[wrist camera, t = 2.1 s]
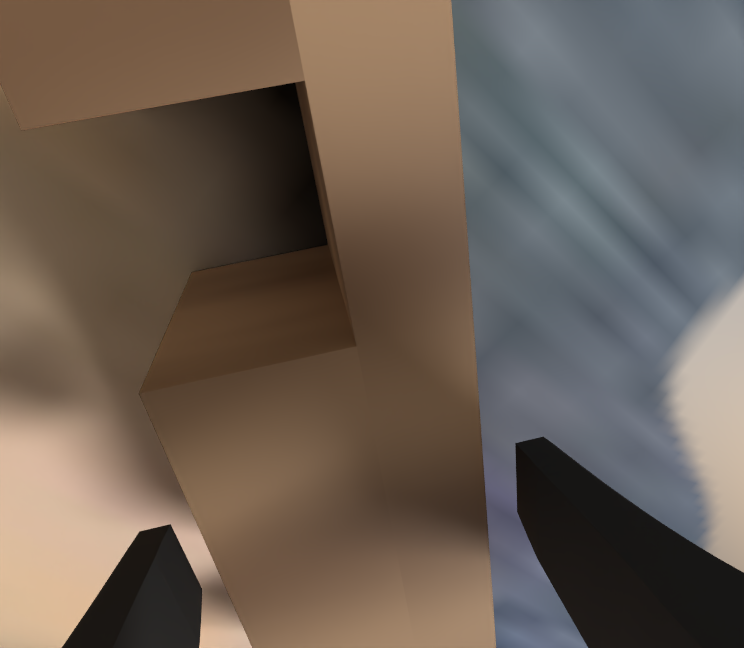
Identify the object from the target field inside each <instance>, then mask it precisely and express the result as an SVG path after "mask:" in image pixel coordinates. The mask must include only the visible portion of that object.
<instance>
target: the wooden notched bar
mask: <svg viewBox="0 0 744 648" xmlns="http://www.w3.org/2000/svg"><path fill="white" fill-rule="evenodd" d="M294 82H295V84H296V89H297V94H298V99H299V104H300V109H301V114H302V119H303V124H304V129H305V133H306V138H307V143H308V148H309V153H310V158H311V163H312V168H313V173H314V178H315V183H316V188H317V193H318V197H319V202H320V207H321V212H322V217H323V222H324V227H325V232H326V237H327V242H328V245H325V246H320V247H315V248H310V249H305V250H300V251H295V252H290V253H285V254H280V255H275V256H270V257H265V258H260V259H255V260H250V261H245V262H240V263H235V264H230V265H225V266H220V267H215V268H211V269H206V270H201V271H196V272H192V273H191V275H190V277H189V280H188V282H187V284H186V286H185V289H184V291H183V293H182V296H181V298H180V300H179V303H178V305H177V307H176V309H175V312H174V314H173V316H172V319H171V321H170V323H169V326H168V328H167V330H166V332H165V335H164V337H163V339H162V342H161V344H160V346H159V349H158V351H157V353H156V355H155V358H154V360H153V362H152V365H151V367H150V369H149V371H148V374H147V376H146V378H145V381H144V383H143V385H142V388H141V390H140V392H139V395H140V397H141V399H142V402H143V404H144V406H145V408H146V411H147V413H148V415H149V417H150V420H151V422H152V424H153V426H154V429H155V431H156V433H157V435H158V438H159V440H160V442H161V444H162V446H163V449H164V451H165V453H166V455H167V458H168V460H169V462H170V464H171V467H172V469H173V471H174V473H175V476H176V478H177V480H178V482H179V485H180V487H181V489H182V491H183V493H184V496H185V498H186V500H187V502H188V505H189V507H190V509H191V511H192V514H193V516H194V518H195V520H196V523H197V525H198V527H199V529H200V531H201V534H202V536H203V538H204V540H205V543H206V545H207V547H208V549H209V552H210V554H211V556H212V558H213V561H214V563H215V565H216V567H217V570H218V572H219V574H220V576H221V578H222V581H223V583H224V585H225V587H226V590H227V592H228V594H229V596H230V599H231V601H232V603H233V605H234V608H235V610H236V612H237V614H238V617H239V619H240V621H241V623H242V625H243V628H244V630H245V632H246V634H247V637H248V639H249V641H250V643H251V646H252V648H496V640H495V625H494V611H493V596H492V582H491V568H490V553H489V539H488V524H487V510H486V496H485V481H484V467H483V453H482V438H481V424H480V409H479V395H478V381H477V366H476V352H475V338H474V323H473V309H472V294H471V280H470V266H469V251H468V237H467V222H466V208H465V194H464V179H463V165H462V151H461V136H460V122H459V107H458V93H457V79H456V64H455V50H454V35H453V21H452V7H451V0H0V84H1V86H2V89H3V91H4V93H5V95H6V97H7V100H8V102H9V104H10V106H11V109H12V111H13V113H14V115H15V118H16V120H17V122H18V124H19V127H20V129H21V131H22V130H28V129H34V128H39V127H45V126H51V125H56V124H62V123H68V122H73V121H79V120H85V119H90V118H96V117H102V116H107V115H113V114H119V113H124V112H130V111H136V110H141V109H147V108H153V107H158V106H164V105H170V104H175V103H181V102H187V101H192V100H198V99H204V98H209V97H215V96H221V95H226V94H232V93H238V92H243V91H249V90H255V89H260V88H266V87H272V86H277V85H283V84H289V83H294Z"/></svg>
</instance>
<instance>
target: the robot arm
mask: <svg viewBox="0 0 744 648" xmlns="http://www.w3.org/2000/svg"><path fill="white" fill-rule="evenodd" d="M516 478H517V512H518V515H519V517H520V519H521V522H522V524H523V526H524V529H525V531H526V534H527V536H528V538H529V540H530V543H531V545H532V547H533V549H534V552H535V554H536V556H537V558H538V560H539V562H540V564H541V566H542V567H543V569H544V571H545V573H546V575H547V576H548V578H549V580H550V582H551V583H552V585H553V587H554V589H555V590H556V592H557V594H558V596H559V597H560V599H561V601H562V603H563V604H564V606H565V608H566V610H567V611H568V613H569V615H570V617H571V618H572V620H573V622H574V624H575V625H576V627H577V629H578V630H579V632H580V634H581V636H582V637H583V639H584V641H585V643H586V644H587V646H588V648H744V573H743V572H741V571H739V570H738V569H736V568H734V567H732V566H731V565H729V564H727V563H725V562H724V561H722V560H720V559H718V558H717V557H715V556H713V555H712V554H710V553H708V552H707V551H705V550H703V549H702V548H700V547H698V546H697V545H695V544H693V543H692V542H690V541H689V540H687V539H686V538H684V537H682V536H681V535H679V534H678V533H676V532H675V531H673V530H672V529H670V528H668V527H667V526H665V525H664V524H662V523H661V522H659V521H658V520H656V519H655V518H653V517H652V516H650V515H649V514H647V513H646V512H644V511H643V510H642V509H640V508H639V507H637V506H636V505H635V504H633V503H632V502H630V501H629V500H627V499H626V498H625V497H623V496H622V495H620V494H619V493H618V492H616V491H615V490H613V489H612V488H611V487H609V486H608V485H606V484H605V483H604V482H602V481H601V480H600V479H598V478H597V477H596V476H594V475H593V474H592V473H590V472H589V471H588V470H586V469H585V468H584V467H582V466H581V465H580V464H579V463H577V462H576V461H575V460H573V459H572V458H571V457H569V456H568V455H567V454H566V453H564V452H563V451H562V450H560V449H559V448H558V447H557V446H555V445H554V444H553V443H551V442H550V441H549V440H547V439H546V438H544V437H540V438H536V439H532V440H527V441H523V442H519V443H516ZM201 605H202V588H201V586H200V584H199V582H198V580H197V578H196V576H195V574H194V572H193V570H192V568H191V566H190V564H189V561H188V559H187V557H186V555H185V553H184V551H183V549H182V547H181V545H180V543H179V541H178V539H177V537H176V535H175V533H174V531H173V529H172V526H171V524H170V525H166V526H161V527H157V528H153V529H149V530H144V531H140V532H139V533H138V535H137V536H136V538H135V539H134V541H133V542H132V544H131V545H130V547H129V548H128V550H127V551H126V553H125V554H124V556H123V557H122V559H121V560H120V562H119V563H118V565H117V566H116V568H115V569H114V571H113V572H112V574H111V576H110V577H109V579H108V580H107V582H106V583H105V585H104V586H103V588H102V589H101V591H100V592H99V594H98V595H97V597H96V598H95V600H94V601H93V603H92V604H91V606H90V607H89V609H88V610H87V612H86V613H85V615H84V616H83V618H82V619H81V620H80V622H79V623H78V625H77V626H76V628H75V629H74V631H73V632H72V634H71V635H70V637H69V638H68V640H67V641H66V642H65V644H64V645H63V647H62V648H199V643H200V627H201Z"/></svg>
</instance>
